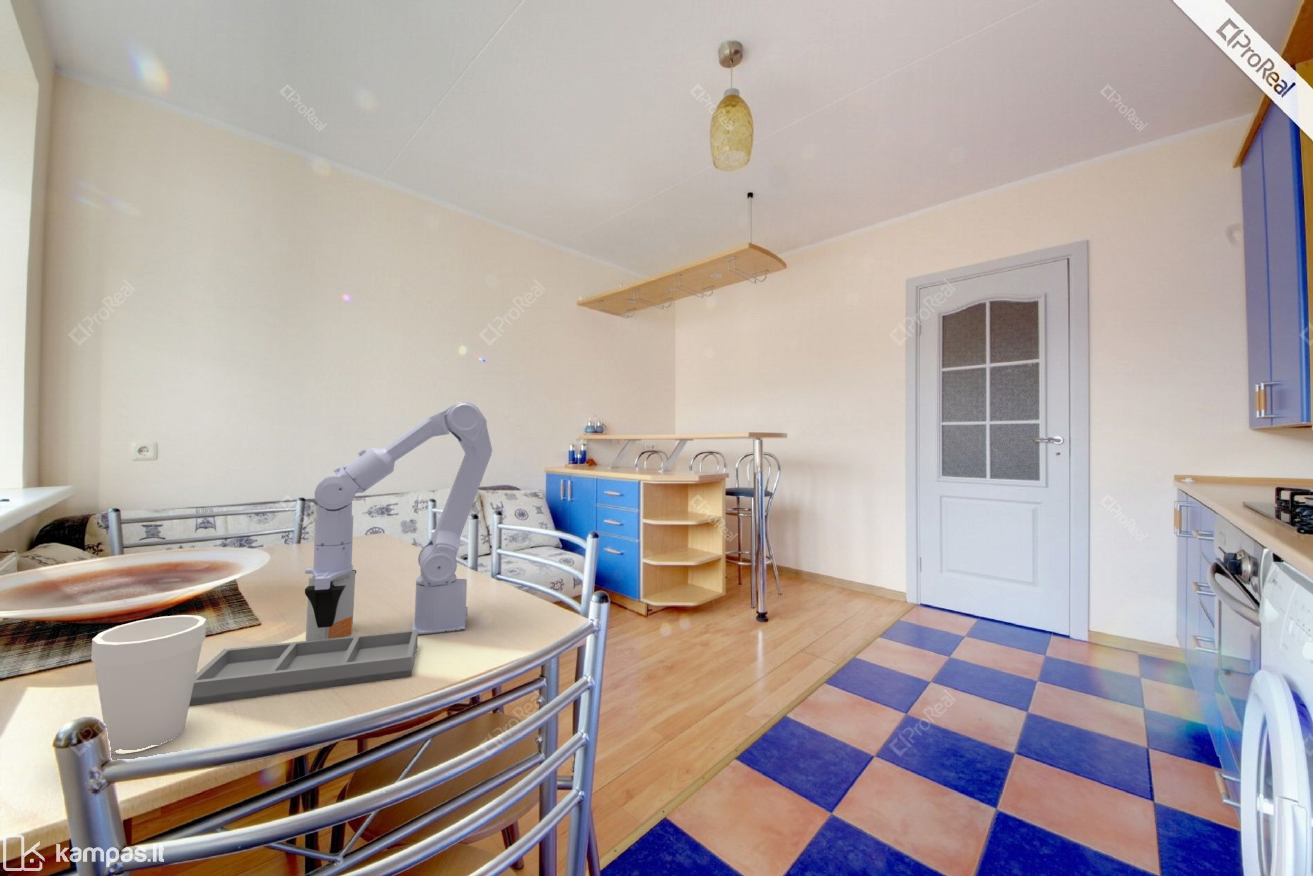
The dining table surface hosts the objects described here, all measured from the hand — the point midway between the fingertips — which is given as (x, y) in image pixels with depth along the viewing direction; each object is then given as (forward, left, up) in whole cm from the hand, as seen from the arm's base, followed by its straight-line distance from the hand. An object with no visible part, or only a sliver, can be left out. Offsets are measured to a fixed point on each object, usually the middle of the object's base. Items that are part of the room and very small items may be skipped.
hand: (330, 619), depth 87 cm
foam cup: (+13, +26, -4) cm, 29 cm away
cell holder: (-1, +13, -4) cm, 14 cm away
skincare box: (0, 0, -4) cm, 4 cm away
